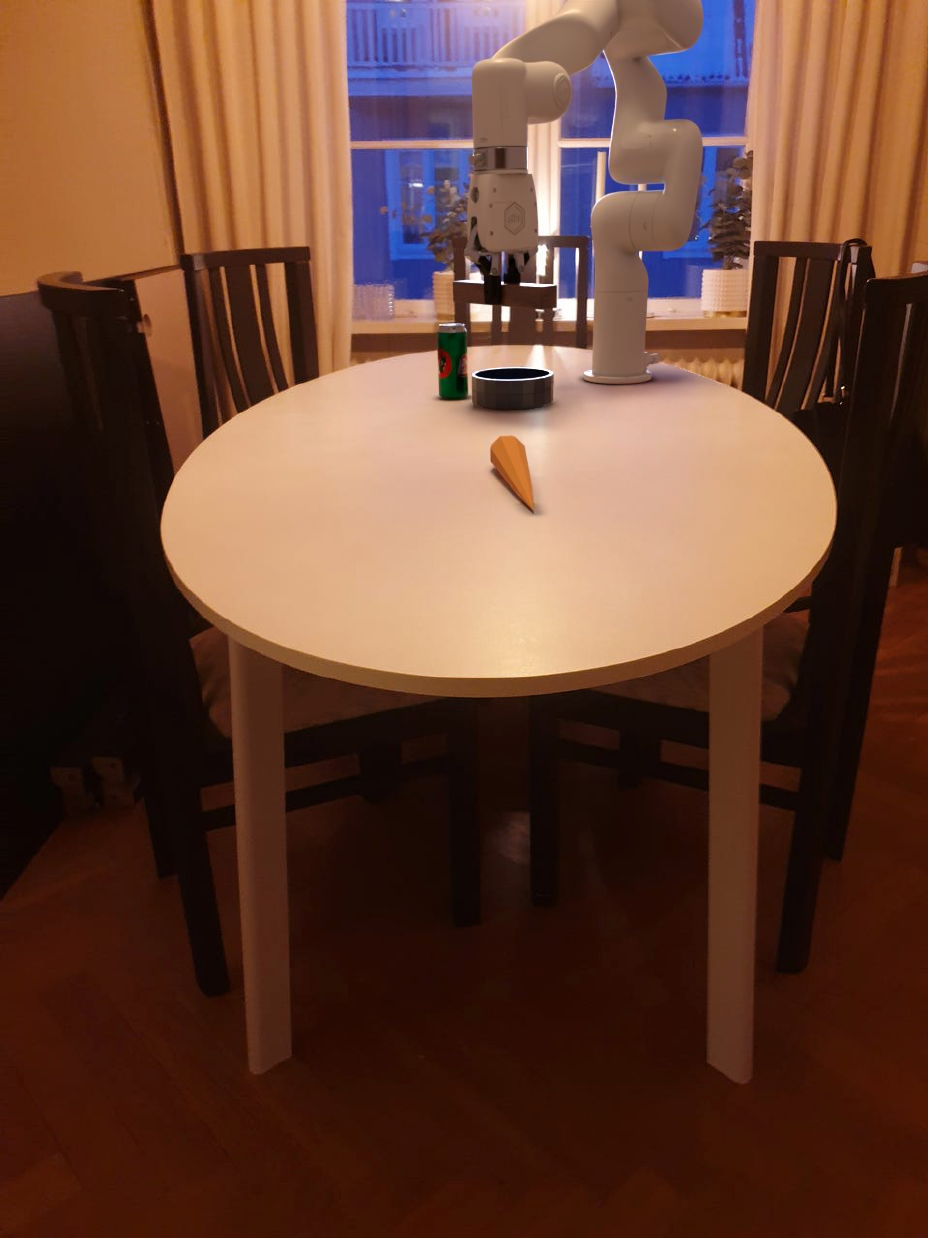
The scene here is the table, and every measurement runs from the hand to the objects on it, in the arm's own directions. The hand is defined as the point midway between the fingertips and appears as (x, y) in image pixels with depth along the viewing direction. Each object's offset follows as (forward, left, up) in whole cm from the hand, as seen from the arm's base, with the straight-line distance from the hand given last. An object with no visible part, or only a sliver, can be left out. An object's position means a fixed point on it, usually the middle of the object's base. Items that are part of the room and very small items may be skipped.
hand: (502, 301), depth 132 cm
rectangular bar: (0, 0, 0) cm, 0 cm away
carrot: (+25, +32, -17) cm, 44 cm away
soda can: (-4, -18, -17) cm, 25 cm away
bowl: (-7, -6, -17) cm, 19 cm away
